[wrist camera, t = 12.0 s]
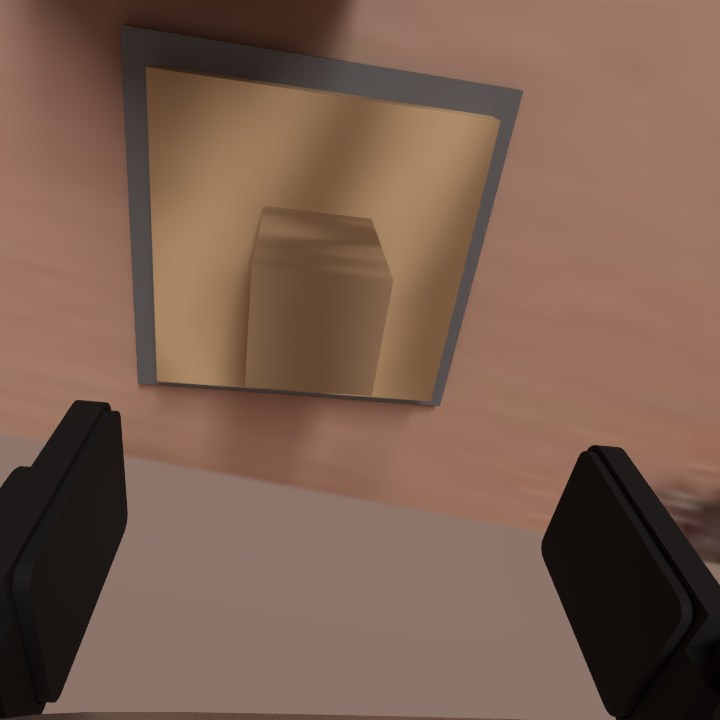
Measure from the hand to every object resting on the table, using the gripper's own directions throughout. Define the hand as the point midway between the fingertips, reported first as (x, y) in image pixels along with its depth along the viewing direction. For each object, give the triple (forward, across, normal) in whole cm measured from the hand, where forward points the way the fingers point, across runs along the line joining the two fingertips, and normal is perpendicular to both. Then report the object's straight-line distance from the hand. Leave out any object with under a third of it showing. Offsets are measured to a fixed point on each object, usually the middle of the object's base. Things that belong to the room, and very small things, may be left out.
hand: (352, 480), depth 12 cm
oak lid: (+14, +1, 0) cm, 14 cm away
